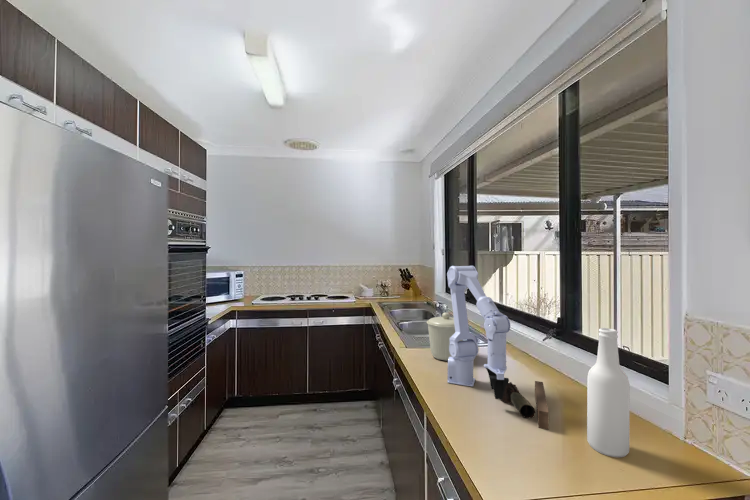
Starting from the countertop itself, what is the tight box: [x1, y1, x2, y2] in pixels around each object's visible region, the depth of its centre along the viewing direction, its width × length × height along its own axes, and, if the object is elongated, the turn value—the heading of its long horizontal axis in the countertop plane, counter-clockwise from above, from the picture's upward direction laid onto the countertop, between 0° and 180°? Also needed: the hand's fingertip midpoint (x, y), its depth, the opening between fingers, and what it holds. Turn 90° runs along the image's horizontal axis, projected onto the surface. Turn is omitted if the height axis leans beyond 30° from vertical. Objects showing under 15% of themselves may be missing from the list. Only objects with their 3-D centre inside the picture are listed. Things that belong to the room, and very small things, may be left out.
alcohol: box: [586, 327, 631, 458], centre depth 86 cm, size 9×9×30 cm
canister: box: [426, 312, 464, 362], centre depth 158 cm, size 18×18×21 cm
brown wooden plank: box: [534, 380, 550, 430], centre depth 106 cm, size 2×24×5 cm, turn 157°
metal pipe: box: [501, 381, 537, 419], centre depth 110 cm, size 18×7×6 cm, turn 178°
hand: (496, 393), depth 111 cm, fingers open, 7 cm apart
